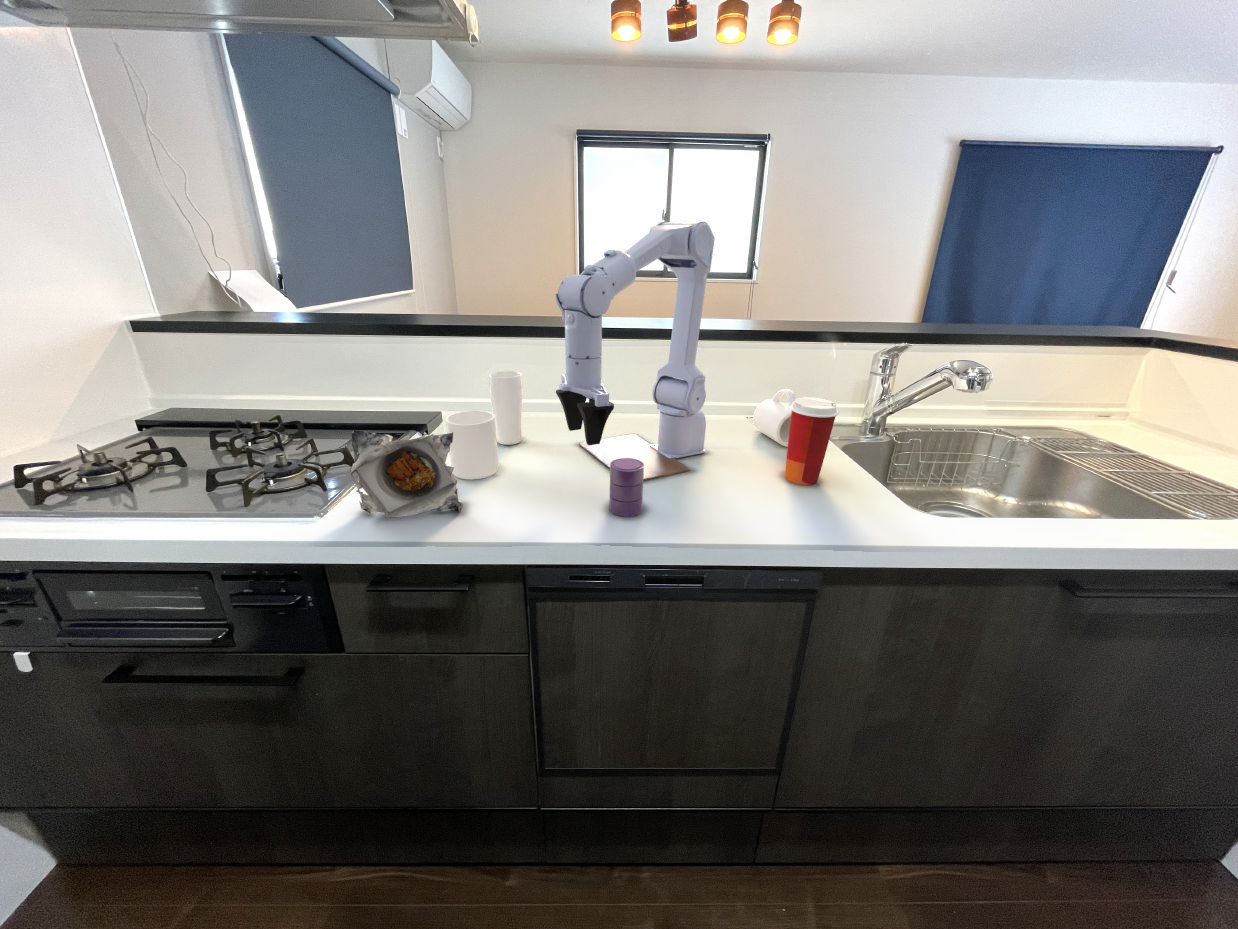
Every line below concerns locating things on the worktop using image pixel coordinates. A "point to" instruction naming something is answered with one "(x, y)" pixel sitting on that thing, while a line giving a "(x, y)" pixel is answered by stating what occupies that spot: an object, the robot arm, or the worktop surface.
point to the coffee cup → (808, 438)
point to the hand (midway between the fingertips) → (583, 436)
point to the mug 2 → (775, 417)
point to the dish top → (626, 472)
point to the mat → (635, 455)
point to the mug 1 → (473, 444)
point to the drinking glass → (507, 405)
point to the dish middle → (626, 492)
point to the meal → (404, 474)
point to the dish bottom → (625, 507)
